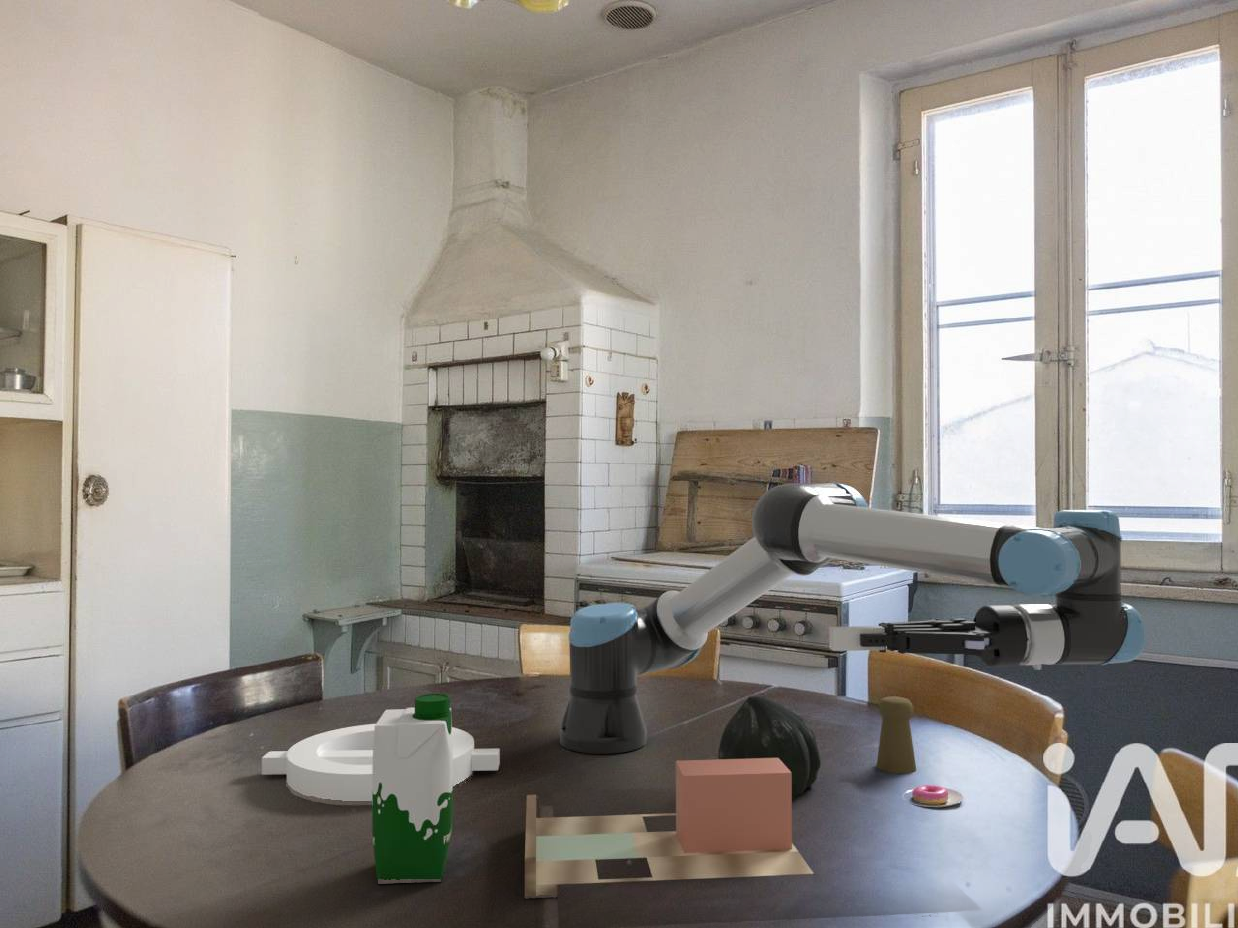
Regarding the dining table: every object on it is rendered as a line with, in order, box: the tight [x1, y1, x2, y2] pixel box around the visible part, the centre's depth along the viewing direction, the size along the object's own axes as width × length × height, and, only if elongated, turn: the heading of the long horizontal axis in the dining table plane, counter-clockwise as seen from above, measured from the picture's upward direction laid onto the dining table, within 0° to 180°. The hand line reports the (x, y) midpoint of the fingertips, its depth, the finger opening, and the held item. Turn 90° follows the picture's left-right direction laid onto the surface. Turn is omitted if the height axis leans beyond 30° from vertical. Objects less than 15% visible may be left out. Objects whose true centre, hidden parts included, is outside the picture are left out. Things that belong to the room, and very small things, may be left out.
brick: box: [675, 758, 793, 853], centre depth 112 cm, size 13×6×9 cm, turn 95°
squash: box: [717, 695, 822, 796], centre depth 133 cm, size 14×15×15 cm
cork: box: [875, 695, 917, 775], centre depth 145 cm, size 6×6×11 cm
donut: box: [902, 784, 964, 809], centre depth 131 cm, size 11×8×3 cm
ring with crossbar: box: [261, 723, 501, 801], centre depth 142 cm, size 28×28×5 cm
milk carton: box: [371, 693, 454, 880], centre depth 107 cm, size 9×9×20 cm
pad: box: [536, 833, 639, 862], centre depth 110 cm, size 12×8×2 cm, turn 95°
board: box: [524, 794, 814, 897], centre depth 111 cm, size 32×20×4 cm, turn 95°
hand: (831, 638), depth 113 cm, fingers closed
